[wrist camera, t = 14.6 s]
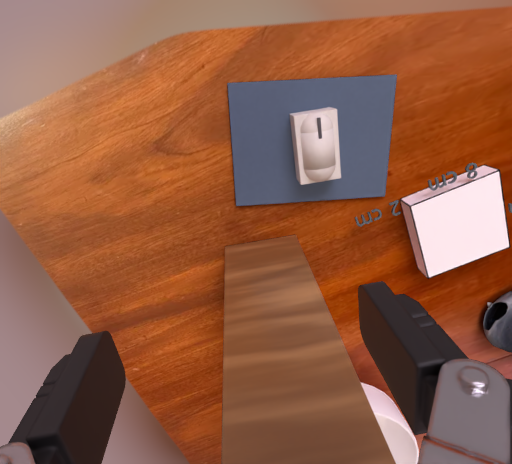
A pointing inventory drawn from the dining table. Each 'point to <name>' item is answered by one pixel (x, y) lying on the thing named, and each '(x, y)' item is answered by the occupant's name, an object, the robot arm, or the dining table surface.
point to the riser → (288, 367)
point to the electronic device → (499, 322)
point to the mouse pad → (281, 145)
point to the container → (455, 220)
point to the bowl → (392, 426)
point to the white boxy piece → (316, 145)
